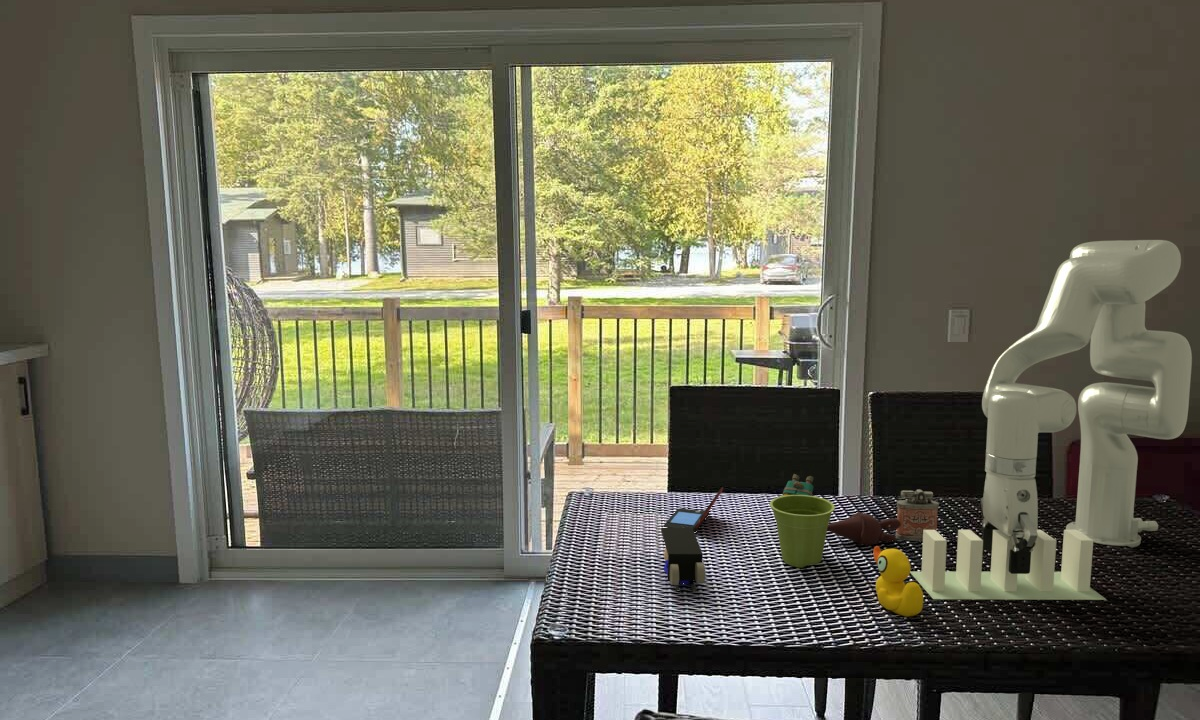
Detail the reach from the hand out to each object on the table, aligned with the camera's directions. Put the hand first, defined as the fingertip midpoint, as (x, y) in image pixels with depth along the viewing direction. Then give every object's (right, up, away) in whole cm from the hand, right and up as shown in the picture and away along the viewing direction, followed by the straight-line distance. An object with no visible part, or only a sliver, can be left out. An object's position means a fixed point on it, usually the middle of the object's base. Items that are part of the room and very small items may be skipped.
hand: (1004, 561), depth 129 cm
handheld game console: (-49, -2, +35) cm, 60 cm away
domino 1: (-12, -4, +1) cm, 13 cm away
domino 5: (+12, -4, 0) cm, 13 cm away
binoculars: (-26, -1, +36) cm, 44 cm away
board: (0, -5, +1) cm, 5 cm away
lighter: (-5, -2, +25) cm, 25 cm away
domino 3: (0, -4, +1) cm, 4 cm away
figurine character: (-55, -6, +7) cm, 56 cm away
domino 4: (+6, -4, 0) cm, 7 cm away
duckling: (-21, -7, -6) cm, 23 cm away
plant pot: (-31, -4, +14) cm, 35 cm away
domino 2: (-6, -4, +1) cm, 7 cm away
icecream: (-17, -3, +21) cm, 28 cm away
